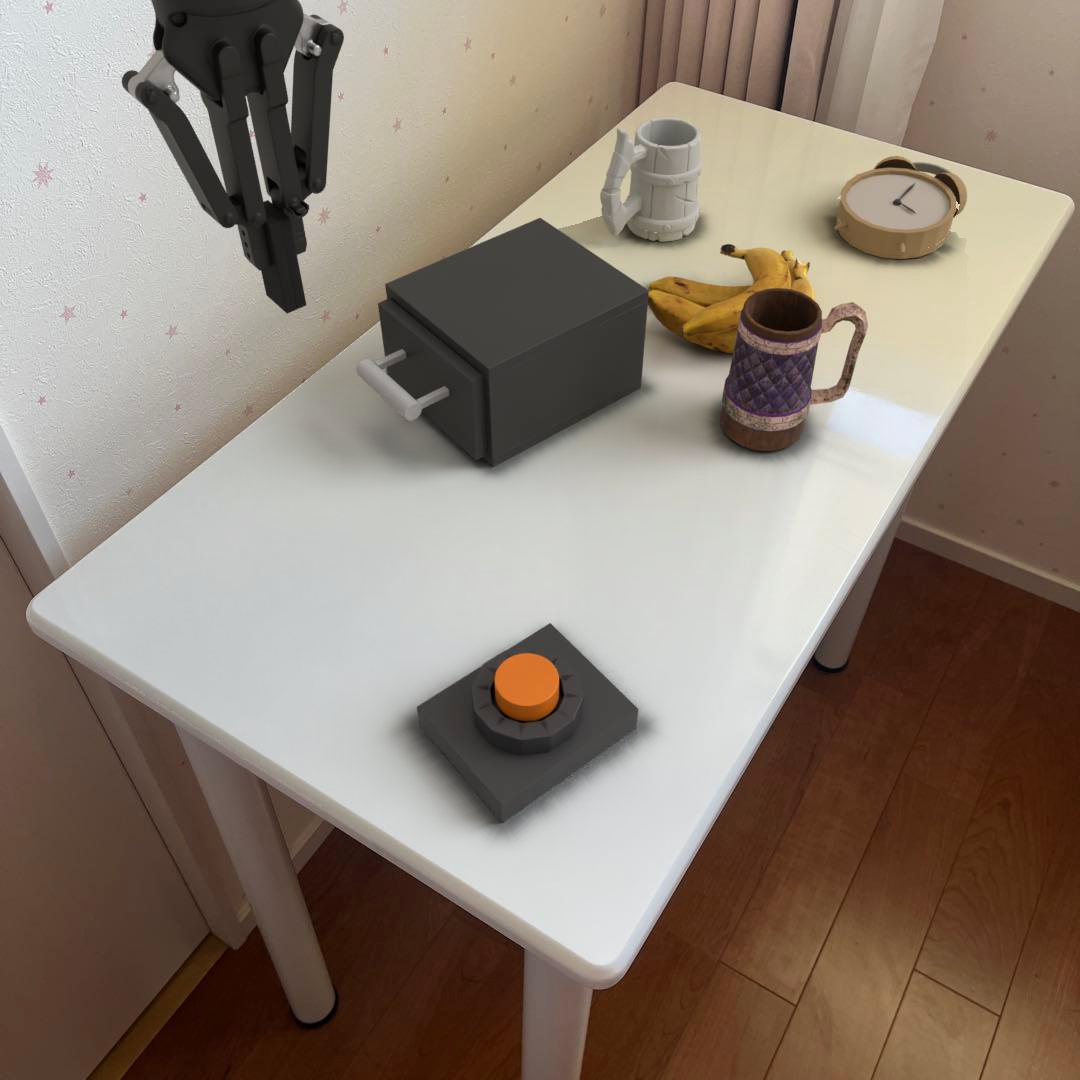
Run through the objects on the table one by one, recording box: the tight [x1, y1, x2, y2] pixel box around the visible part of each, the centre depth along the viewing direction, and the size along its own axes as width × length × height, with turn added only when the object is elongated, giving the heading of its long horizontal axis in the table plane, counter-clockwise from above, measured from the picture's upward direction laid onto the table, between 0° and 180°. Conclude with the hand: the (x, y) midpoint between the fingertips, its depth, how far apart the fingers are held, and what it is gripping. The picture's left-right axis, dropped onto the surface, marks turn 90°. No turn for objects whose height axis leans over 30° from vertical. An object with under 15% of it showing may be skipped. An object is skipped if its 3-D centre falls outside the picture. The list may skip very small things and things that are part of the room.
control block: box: [416, 622, 639, 824], centre depth 71 cm, size 11×9×4 cm
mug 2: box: [719, 288, 869, 452], centre depth 88 cm, size 10×7×12 cm
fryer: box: [384, 217, 650, 468], centre depth 92 cm, size 16×14×10 cm
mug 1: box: [599, 116, 703, 243], centre depth 108 cm, size 8×12×12 cm, turn 128°
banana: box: [648, 243, 816, 354], centre depth 101 cm, size 15×19×6 cm
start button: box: [494, 653, 559, 721], centre depth 69 cm, size 4×4×2 cm
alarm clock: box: [833, 155, 968, 260], centre depth 112 cm, size 11×5×15 cm
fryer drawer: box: [355, 298, 488, 461], centre depth 90 cm, size 19×13×8 cm
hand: (286, 299), depth 74 cm, fingers closed
